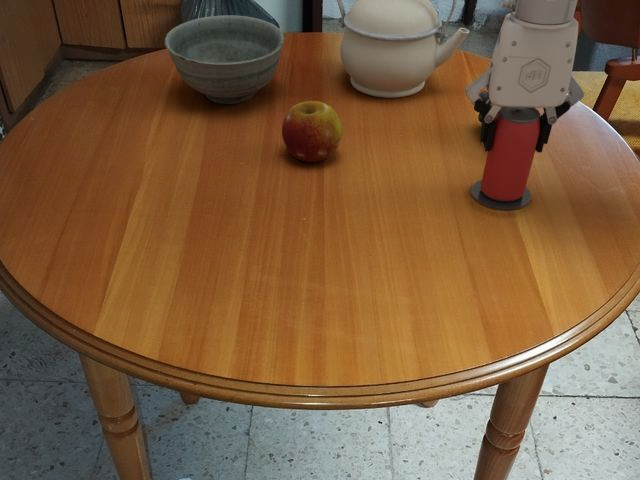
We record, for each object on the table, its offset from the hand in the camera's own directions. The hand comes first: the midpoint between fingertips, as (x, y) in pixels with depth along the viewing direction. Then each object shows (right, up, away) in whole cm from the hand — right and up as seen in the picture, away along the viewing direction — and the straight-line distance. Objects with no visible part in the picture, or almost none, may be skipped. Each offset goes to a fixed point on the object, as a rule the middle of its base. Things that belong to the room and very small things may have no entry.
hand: (511, 146), depth 97 cm
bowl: (-44, +21, +29) cm, 57 cm away
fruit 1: (-29, +4, +13) cm, 32 cm away
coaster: (0, -5, +6) cm, 7 cm away
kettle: (-13, +25, +33) cm, 43 cm away
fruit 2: (+2, +7, +17) cm, 19 cm away
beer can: (0, -5, +5) cm, 7 cm away
